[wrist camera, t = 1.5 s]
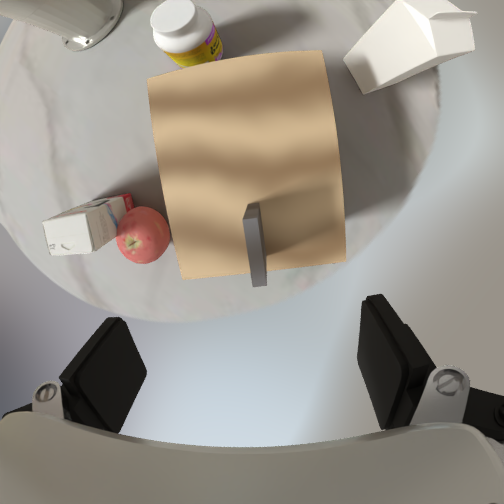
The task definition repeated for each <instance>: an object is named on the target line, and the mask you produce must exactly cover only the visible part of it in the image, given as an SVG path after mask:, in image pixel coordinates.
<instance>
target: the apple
mask: <svg viewBox="0 0 504 504" xmlns="http://www.w3.org/2000/svg"><path fill="white" fill-rule="evenodd" d="M116 241H117V245H118V247H119V250H120V251H121V252H122V254H123V255H124V256H125V257H126V258H127V259H129V260H131V261H132V262H135V263H141V264H146V263H150V262H153V261H155V260H157V259H158V258H159V257H160V256H161V255H162V254H163V253H164V252H165V250H166V249H167V247H168V244H169V241H170V232H169V227H168V225H167V222H166V220H165V219H164V217H163V216H162V215H161V214H160V213H159V212H157V211H156V210H154V209H152V208H149V207H143V206H140V207H136V208H133V209H131V210H130V211H128V212H127V213H126V214H125V215H124V216H123V217H122V219H121V220H120V222H119V224H118V226H117V236H116Z"/></svg>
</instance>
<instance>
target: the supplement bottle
mask: <svg viewBox="0 0 504 504" xmlns="http://www.w3.org/2000/svg"><path fill="white" fill-rule="evenodd" d="M150 22H151V25H152V27H153V28H154V31H153V37H154V40H155V42H156V44H157V45H158V46H159V47H160V48H161V49H162V50H163V51H164V52H165V53H166V54H167V55H168V56H169V57H170V58H171V59H172V60H173V61H175V63H177V64H178V65H179V66H180V67H181V68H182V69H183V68H187V67H191V66H195V65H200V64H204V63H209V62H214V61H219V60H220V59H221V58H222V55H223V45H222V42H221V40H220V37H219V35H218V33H217V30H216V28H215V26H214V23H213V21H212V18H211V16H210V15H209V13H208V12H207V11H206V10H205V9H203V8H201V7H199V6H195V5H194V3H193V2H192V1H191V0H167V1H165V2H163V3H162V4H160V5H159V6H158V7H157V8H156V9H155V10H154V11H153V13H152V15H151V19H150Z"/></svg>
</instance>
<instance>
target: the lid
mask: <svg viewBox="0 0 504 504" xmlns="http://www.w3.org/2000/svg"><path fill="white" fill-rule="evenodd" d="M147 86H148V95H149V104H150V113H151V121H152V128H153V135H154V142H155V149H156V155H157V161H158V167H159V173H160V179H161V184H162V189H163V195H164V200H165V205H166V210H167V215H168V219H169V224H170V229H171V233H172V238H173V242H174V246H175V251H176V255H177V259H178V263H179V267H180V271H181V275H182V279H183V280H186V279H197V278H207V277H217V276H226V275H236V274H245V273H251V279H252V285H253V287H259V286H267V271H272V270H281V269H289V268H298V267H306V266H314V265H322V264H330V263H338V262H346V237H345V215H344V199H343V186H342V175H341V165H340V156H339V147H338V139H337V131H336V124H335V117H334V111H333V105H332V99H331V93H330V88H329V82H328V77H327V72H326V67H325V63H324V58H323V53H322V50H314V51H290V52H276V53H266V54H257V55H249V56H242V57H236V58H230V59H224V60H219V61H214V62H209V63H204V64H200V65H195V66H191V67H187V68H183V69H179V70H176V71H172V72H168V73H165V74H162V75H158V76H155V77H152V78H149V79H147Z"/></svg>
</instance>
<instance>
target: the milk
mask: <svg viewBox="0 0 504 504" xmlns="http://www.w3.org/2000/svg"><path fill="white" fill-rule="evenodd" d="M475 14H477V12H470V11H461V10H460V9H459V8H457V7H456V6H454V5H453V4H452V3H450V2H449V1H447V0H396V1H395V2H394V3H393V4H392V5H391V6H390V7H389V8H388V9H387V10H386V11H385V12H384V13H383V14H382V16H381V17H380V18H379V19H378V20H377V21H376V22H375V23H374V24H373V25H372V26H371V28H370V29H369V30H368V31H367V32H366V33H365V34H364V35H363V36H362V38H361V39H360V40H359V41H358V42H357V43H356V44H355V46H354V47H353V48H352V49H351V50H350V51H349V52H348V54H347V55H346V56H345V57H344V58H343V61H344V62H345V64H346V66H347V67H348V69H349V71H350V72H351V74H352V76H353V77H354V79H355V81H356V83H357V85H358V86H359V88H360V90H361V92H362V94H363V95H364V94H367V93H370V92H373V91H375V90H378V89H381V88H384V87H387V86H390V85H393V84H396V83H398V82H400V81H402V80H404V79H406V78H409V77H411V76H413V75H415V74H417V73H420V72H422V71H424V70H427V69H429V68H431V67H434V66H436V65H438V64H441V63H443V62H446V61H448V60H451V59H453V58H456V57H458V56H461V55H464V54H466V53H469V52H472V51H475V44H474V38H473V32H472V28H471V22H470V17H471V16H473V15H475Z"/></svg>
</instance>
